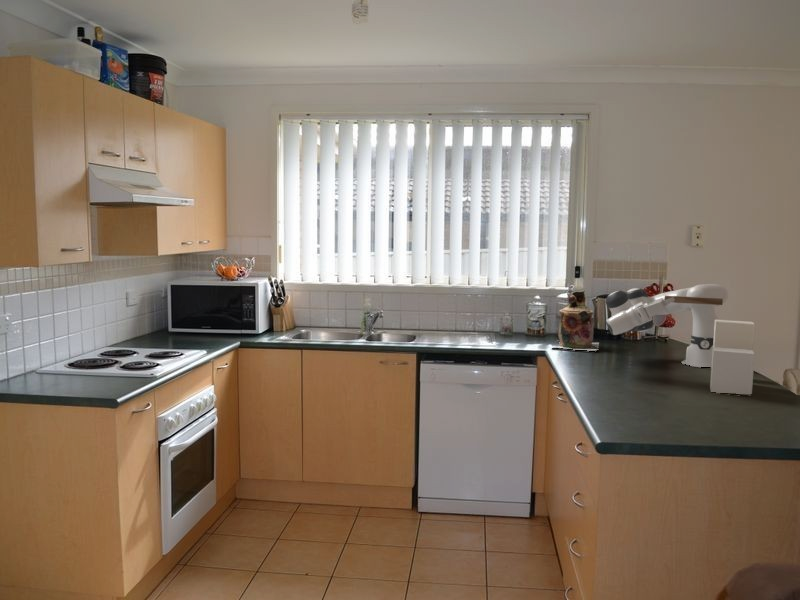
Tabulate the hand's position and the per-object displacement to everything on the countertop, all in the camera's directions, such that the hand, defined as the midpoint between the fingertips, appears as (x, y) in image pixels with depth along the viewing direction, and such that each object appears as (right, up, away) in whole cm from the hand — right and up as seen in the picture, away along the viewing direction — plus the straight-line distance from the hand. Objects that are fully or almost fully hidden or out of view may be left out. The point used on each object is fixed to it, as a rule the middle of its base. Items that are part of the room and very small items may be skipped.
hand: (674, 298), depth 275 cm
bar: (+7, -2, -3) cm, 7 cm away
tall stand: (+21, -36, -5) cm, 42 cm away
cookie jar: (-20, -27, +80) cm, 87 cm away
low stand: (+14, -37, -19) cm, 44 cm away
